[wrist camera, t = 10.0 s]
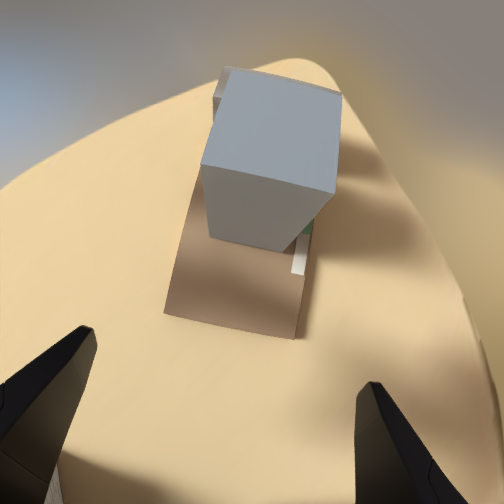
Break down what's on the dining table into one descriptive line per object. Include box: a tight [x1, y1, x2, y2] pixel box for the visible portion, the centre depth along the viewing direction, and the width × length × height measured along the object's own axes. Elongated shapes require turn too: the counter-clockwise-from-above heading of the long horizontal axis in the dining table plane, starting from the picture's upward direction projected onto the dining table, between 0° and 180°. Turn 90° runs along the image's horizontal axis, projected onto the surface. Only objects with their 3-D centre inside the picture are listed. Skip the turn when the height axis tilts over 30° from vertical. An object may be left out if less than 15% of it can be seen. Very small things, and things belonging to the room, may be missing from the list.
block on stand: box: [164, 66, 342, 340], centre depth 20 cm, size 16×9×7 cm, turn 169°
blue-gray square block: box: [200, 70, 342, 253], centre depth 17 cm, size 6×6×10 cm
